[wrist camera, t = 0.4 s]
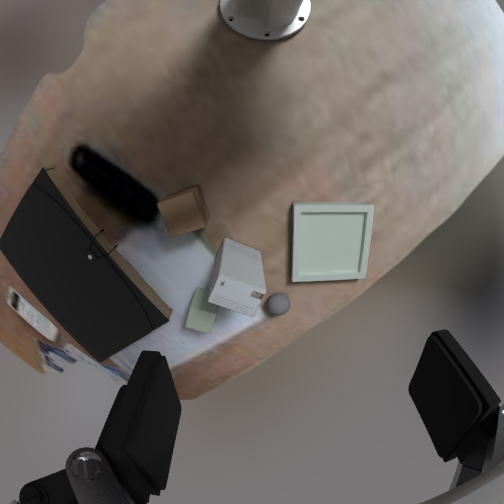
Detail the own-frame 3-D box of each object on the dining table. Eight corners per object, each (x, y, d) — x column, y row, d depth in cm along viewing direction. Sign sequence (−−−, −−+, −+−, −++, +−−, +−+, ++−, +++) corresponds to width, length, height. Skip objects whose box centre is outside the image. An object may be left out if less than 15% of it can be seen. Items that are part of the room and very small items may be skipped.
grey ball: (267, 289, 47) (268, 301, 43) (289, 288, 47) (291, 300, 43) (267, 307, 48) (268, 320, 45) (288, 306, 48) (291, 319, 45)
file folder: (169, 321, 45) (95, 365, 51) (175, 307, 49) (102, 353, 55) (42, 166, 34) (-6, 249, 40) (56, 162, 38) (6, 241, 44)
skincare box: (214, 259, 45) (203, 304, 33) (225, 234, 43) (216, 273, 32) (251, 273, 46) (251, 320, 34) (263, 249, 44) (267, 292, 33)
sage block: (196, 286, 46) (190, 307, 41) (220, 293, 47) (216, 314, 41) (191, 305, 48) (185, 327, 42) (214, 311, 48) (210, 334, 43)
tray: (292, 202, 41) (294, 205, 39) (369, 202, 41) (374, 205, 39) (290, 276, 46) (292, 281, 44) (361, 273, 46) (365, 278, 44)
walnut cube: (167, 195, 40) (157, 203, 36) (198, 184, 40) (191, 191, 35) (179, 225, 42) (170, 237, 38) (210, 216, 42) (204, 227, 37)
